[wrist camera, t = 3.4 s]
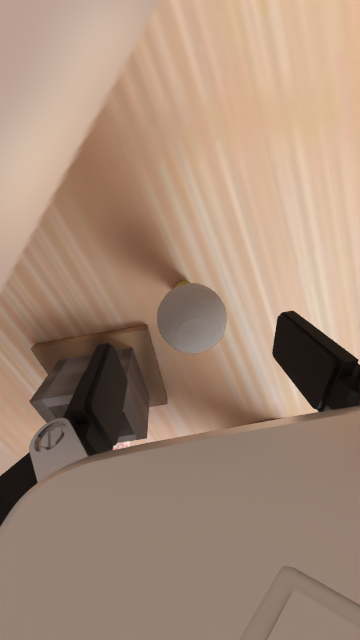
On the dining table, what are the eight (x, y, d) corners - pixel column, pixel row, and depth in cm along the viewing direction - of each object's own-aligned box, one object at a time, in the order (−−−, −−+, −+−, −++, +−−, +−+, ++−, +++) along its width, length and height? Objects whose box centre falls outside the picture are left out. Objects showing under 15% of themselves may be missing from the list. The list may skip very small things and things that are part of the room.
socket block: (147, 325, 23) (142, 364, 17) (167, 398, 30) (168, 444, 24) (35, 343, 23) (-10, 389, 17) (81, 413, 30) (60, 463, 24)
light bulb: (148, 285, 21) (138, 336, 12) (186, 252, 19) (206, 282, 11) (179, 317, 23) (190, 379, 14) (215, 289, 22) (251, 339, 13)
